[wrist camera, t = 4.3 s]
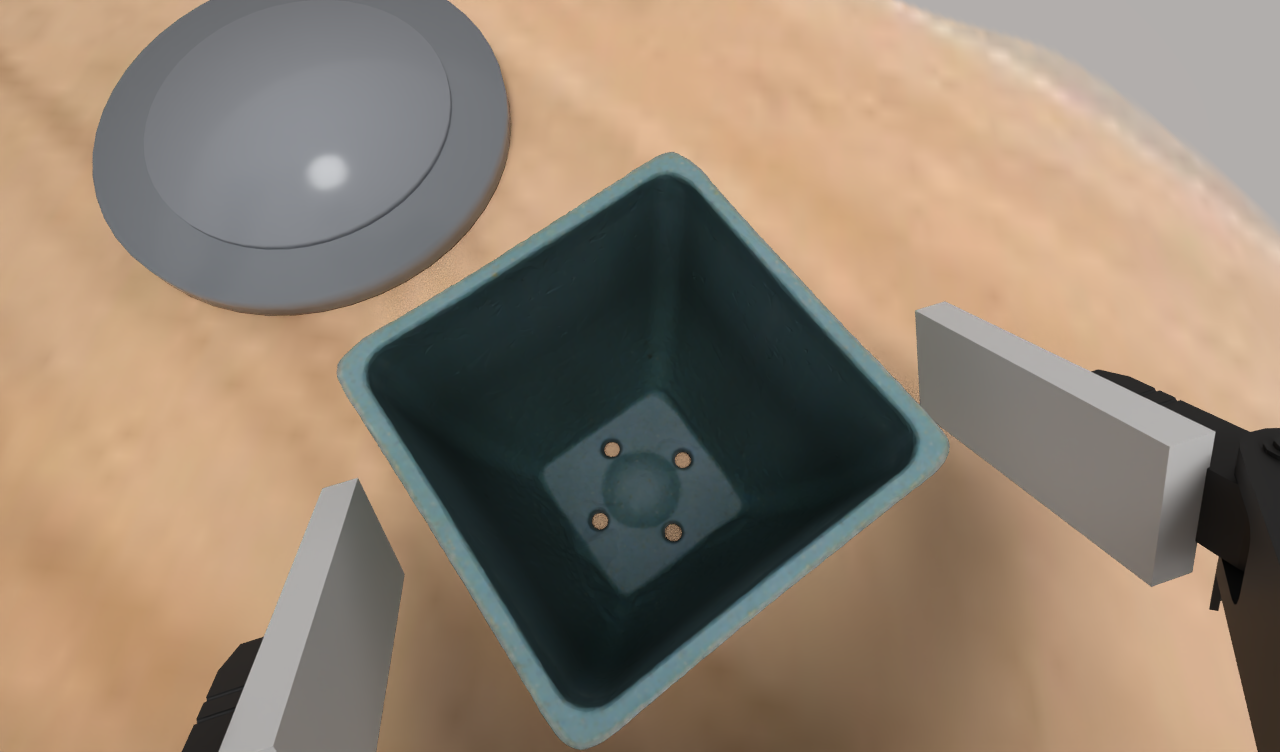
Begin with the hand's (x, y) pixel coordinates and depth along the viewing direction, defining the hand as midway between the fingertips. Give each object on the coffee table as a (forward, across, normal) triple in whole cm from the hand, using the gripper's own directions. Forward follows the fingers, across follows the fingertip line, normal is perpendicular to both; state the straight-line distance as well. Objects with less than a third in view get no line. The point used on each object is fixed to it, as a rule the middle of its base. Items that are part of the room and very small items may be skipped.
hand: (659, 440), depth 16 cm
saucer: (+16, -8, +8) cm, 20 cm away
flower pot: (+5, 0, -4) cm, 6 cm away
